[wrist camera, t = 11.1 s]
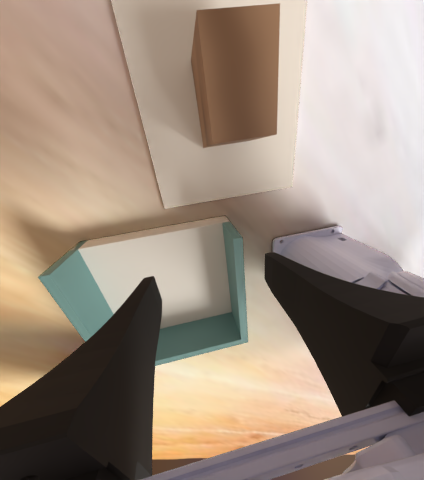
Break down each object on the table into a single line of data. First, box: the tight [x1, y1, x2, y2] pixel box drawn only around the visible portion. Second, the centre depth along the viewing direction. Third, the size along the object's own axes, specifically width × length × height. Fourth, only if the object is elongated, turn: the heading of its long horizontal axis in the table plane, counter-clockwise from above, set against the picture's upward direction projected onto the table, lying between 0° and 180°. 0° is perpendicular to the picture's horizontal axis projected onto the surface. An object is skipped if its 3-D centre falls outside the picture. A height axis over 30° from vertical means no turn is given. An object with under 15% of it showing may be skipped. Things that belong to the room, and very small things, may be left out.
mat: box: [111, 0, 307, 209], centre depth 15 cm, size 14×16×1 cm
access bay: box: [38, 216, 248, 366], centre depth 19 cm, size 16×14×6 cm
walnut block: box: [191, 3, 280, 148], centre depth 13 cm, size 4×6×5 cm
